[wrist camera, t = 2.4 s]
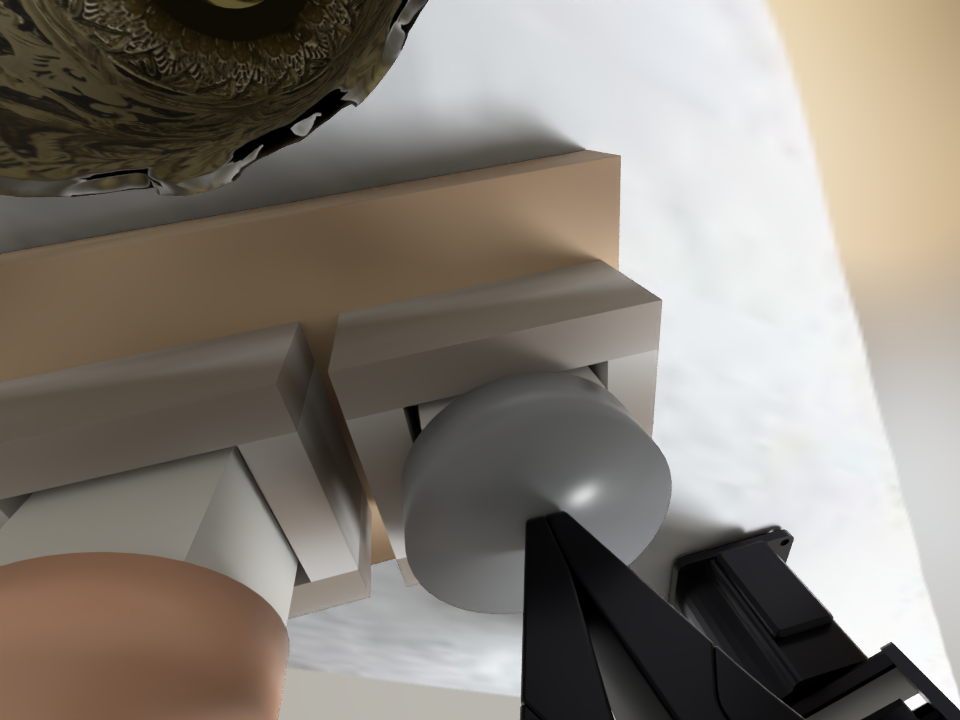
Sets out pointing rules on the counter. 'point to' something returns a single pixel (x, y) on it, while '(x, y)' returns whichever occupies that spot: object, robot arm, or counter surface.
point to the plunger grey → (524, 482)
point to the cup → (177, 86)
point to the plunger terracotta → (146, 597)
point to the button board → (317, 342)
